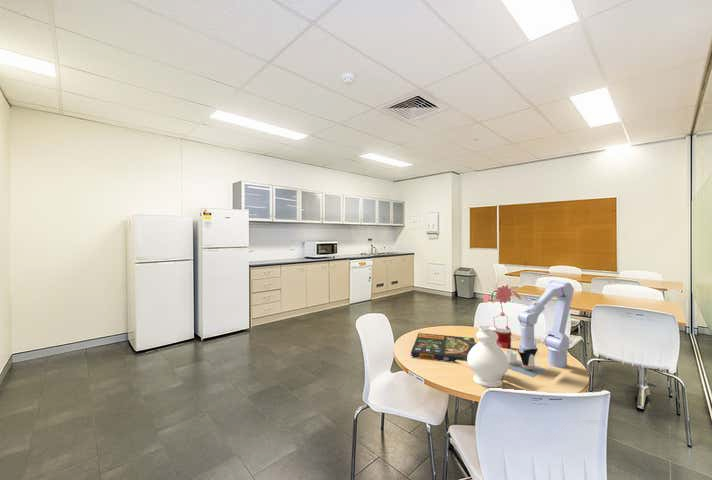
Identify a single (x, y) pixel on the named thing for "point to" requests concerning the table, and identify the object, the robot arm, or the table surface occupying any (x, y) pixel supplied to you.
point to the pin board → (526, 371)
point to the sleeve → (530, 363)
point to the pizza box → (442, 347)
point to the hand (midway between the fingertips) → (527, 363)
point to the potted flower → (502, 299)
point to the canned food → (504, 338)
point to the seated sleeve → (511, 357)
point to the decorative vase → (487, 358)
